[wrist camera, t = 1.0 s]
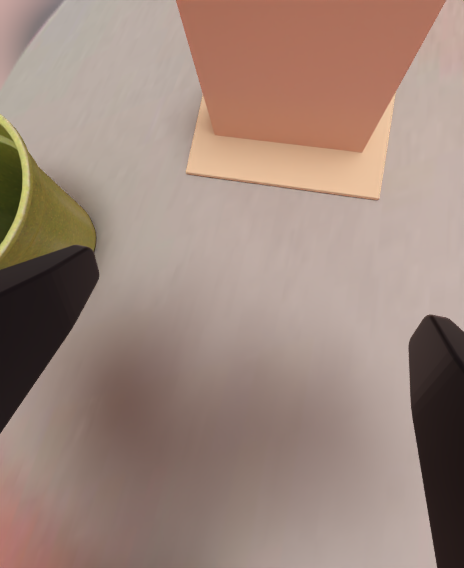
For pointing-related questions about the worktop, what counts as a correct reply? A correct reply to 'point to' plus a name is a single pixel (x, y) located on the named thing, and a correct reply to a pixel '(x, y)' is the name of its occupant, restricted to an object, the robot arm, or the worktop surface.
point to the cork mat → (291, 161)
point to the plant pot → (34, 207)
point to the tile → (303, 65)
